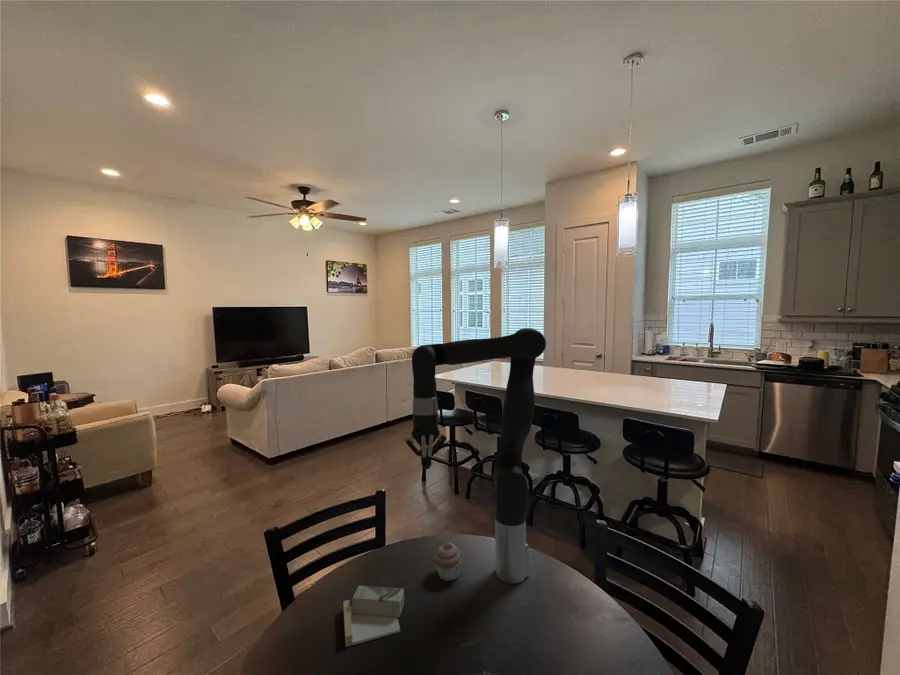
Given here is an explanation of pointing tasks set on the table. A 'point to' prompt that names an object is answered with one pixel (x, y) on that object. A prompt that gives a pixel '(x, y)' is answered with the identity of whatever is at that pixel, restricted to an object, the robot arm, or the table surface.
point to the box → (378, 601)
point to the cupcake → (448, 562)
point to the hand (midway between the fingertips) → (426, 468)
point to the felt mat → (366, 626)
